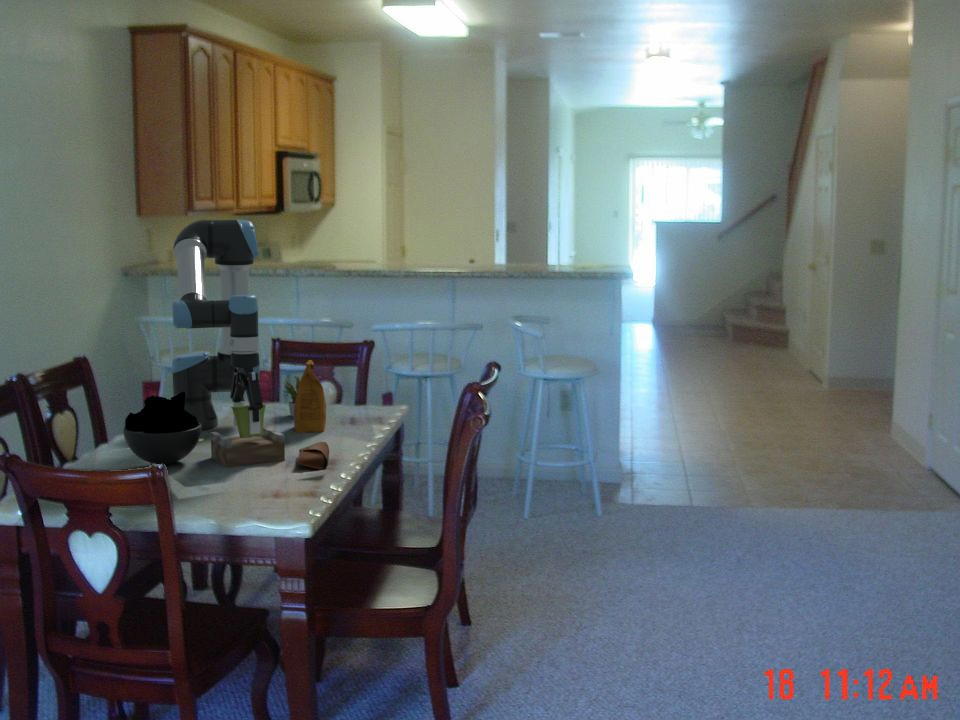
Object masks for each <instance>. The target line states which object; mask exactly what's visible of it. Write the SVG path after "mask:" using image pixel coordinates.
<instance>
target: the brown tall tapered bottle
mask: <svg viewBox="0 0 960 720" xmlns="http://www.w3.org/2000/svg"><path fill="white" fill-rule="evenodd" d="M304 364H305V366H306V367H305V369H304V371H303V374H302V375H301V378H300V379H299V381H300V383H299V387H298V391H296V393H297V394H296V400H295V410H294V417H293V423H294V424H293V425H294V427H293V428H294V431H295V432H296V433H298V434H305V433H306V434H307V433H308V434H309V433H324V432H325V428H326V422H327V403H326V397H325V391H324V386H323V385H322V383H321V382H320V381H319V378H317V375H316V374H315V373H314V371H313V370H314V369H315V368H316V367H315V363H314V362H313V360H311V359H309V360H307V362H305V363H304Z"/></svg>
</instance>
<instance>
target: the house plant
mask: <svg viewBox="0 0 960 720" xmlns="http://www.w3.org/2000/svg"><path fill="white" fill-rule="evenodd" d="M290 375H292V376H293V378H294V380H295V388H294V385H293V384H292V383H291V381H290V380H288V379H287V378H286V377H283V376H282V377H281V378H283V380H282V382H284V383H283V384H284V387H285V389H286V390H282V392H283V393H287V394H290V396H289V395H287V394H285V395H284V397H290V398H291V400H292V401H291V400H290V401H288V402H287V403H288V407H289V409H288V410H289V413H290V414H289V415H290V416H291V417H292V418H294V410H295V400H296V394H297V391H298V387H299V383H300V376H299V375H298V373H296V375H297V376H295V375H293V374H292V373H290ZM316 377H317V376H316ZM319 378H320V376H318V377H317V379H319Z"/></svg>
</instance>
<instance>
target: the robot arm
mask: <svg viewBox="0 0 960 720" xmlns="http://www.w3.org/2000/svg"><path fill="white" fill-rule="evenodd" d="M172 247H173V248H172V250H173V257H174V259H175V260H176V262H177V278H178V279H177V282H178V300H176V301H173V302H172V304H171V305H172V325H173V327H174V328H176V329H188V330H189V329H207V328H208V329H209V328H210V329H211V328H215V329H218V328H221V345H220V346H219V347H218V348H217V355H212V354H211V353H210V351H208V350H201V351H193V352H187V353H183V354H179V355H177V356H175V357H174V358H173V359H172V360H171V361H172V362H171V371H170V372H171V374H172V397H174V396H176V395H178V394H179V393H181V392H185V396H186V397H185V406H184V407H185V408H184V409H185V411H187V412H189V413H190V414H192V415H193V416H195V417H196V419H197V422H198V423H200V424H201V425H202V429H201V431H202V430H208V429H214V428H216V427H218V426H219V419H218V418H219V417H218V415H217V412H216V409H215V407H214V404H213V401H212V399H213V398H212V394H214V393H230V396H229V397H230V399H231V400H232V402H233V404H232V407H237V406H245V403H244V402H245V398H244V395H245V393H246V397H247V400H248V404H249V405H250V407H249V408H248V411H249V423H250V434H260V433H261V432H260V409H261V408H263V404H264V403H263V399H262V392H261V387H260V382H259V379H260V371H261V370H260V369H261V355H260V353H259V352H258V351H259V350H260V336H259V303H258V302H259V301H258V297H257V296H256V295H255V294H250V271H249V270H250V268H251V267H252V266H253V265H254V259H257V258H258V257H259V248H258V242H257V236H256V230H255V226H254V224H253V222H252V221H250V220H246V219H199V220H196V221H194V222H191V223H189V224H188V225H187V226H185V227H184V228H183V229H182V230H181V231H180V232H179V233H178V235H177V236H176V237H175V239H174V242H173V246H172ZM206 259H214V264H215V265H216V267H218V269H219V271H220V272H219V274H220V300H217V299H216V300H208V298H207V296H208V295H207V284H206V283H207V282H206V270H205V269H206V268H205V260H206ZM233 426H234V427H237V422H236V418H235V414H234V413H233Z"/></svg>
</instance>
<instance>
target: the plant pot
mask: <svg viewBox="0 0 960 720" xmlns="http://www.w3.org/2000/svg"><path fill="white" fill-rule="evenodd" d="M249 407H250V405H244V406H237V407H233V406H231V407H230V408H231V409H232V413H233V415H234V414H235V418H236V422H237V426H236V427H237V429H238V434H239V435H238V436H239V437H240V438H251V437H253V436H256V437H260V436H263V427H265V426H264V423H265V412H266V407H267V403H263V408H261V409H260V432H261V433H260V434H250V423H249V411H248V408H249Z"/></svg>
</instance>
